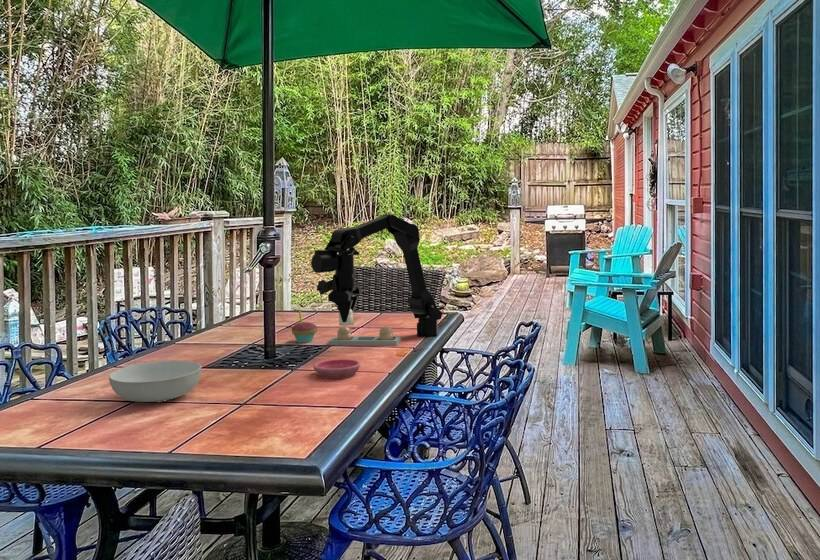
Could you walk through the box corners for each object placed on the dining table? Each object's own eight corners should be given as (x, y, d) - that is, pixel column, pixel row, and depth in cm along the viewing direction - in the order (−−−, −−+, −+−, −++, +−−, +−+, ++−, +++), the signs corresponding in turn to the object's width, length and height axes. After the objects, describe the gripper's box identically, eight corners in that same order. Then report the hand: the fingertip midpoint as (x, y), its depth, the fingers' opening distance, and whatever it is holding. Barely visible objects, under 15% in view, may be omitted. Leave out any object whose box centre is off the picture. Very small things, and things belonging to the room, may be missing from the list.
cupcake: (286, 344, 226) (285, 308, 225) (302, 340, 233) (300, 305, 232) (308, 346, 222) (306, 310, 221) (323, 341, 229) (321, 306, 228)
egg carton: (401, 342, 225) (401, 336, 225) (397, 347, 217) (396, 341, 216) (335, 341, 228) (335, 336, 228) (328, 346, 220) (328, 340, 220)
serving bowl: (93, 401, 162) (91, 373, 162) (171, 382, 179) (170, 356, 178) (141, 416, 149) (139, 385, 149) (220, 394, 166) (219, 366, 165)
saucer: (304, 375, 183) (304, 364, 183) (341, 367, 192) (340, 356, 191) (333, 383, 174) (333, 371, 174) (370, 374, 183) (369, 362, 183)
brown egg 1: (352, 341, 225) (351, 325, 225) (349, 343, 221) (348, 327, 220) (339, 341, 226) (338, 325, 225) (336, 343, 222) (335, 327, 221)
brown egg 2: (394, 341, 223) (393, 325, 223) (391, 344, 219) (391, 327, 218) (381, 341, 224) (380, 325, 223) (378, 344, 219) (377, 327, 219)
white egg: (355, 323, 212) (354, 306, 211) (351, 325, 208) (351, 308, 207) (341, 323, 213) (340, 306, 212) (337, 325, 208) (337, 308, 208)
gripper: (327, 268, 219) (328, 316, 220) (310, 273, 200) (312, 326, 202) (361, 267, 217) (362, 316, 219) (347, 273, 199) (349, 326, 200)
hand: (346, 320), depth 210 cm, fingers closed on white egg, 4 cm apart
